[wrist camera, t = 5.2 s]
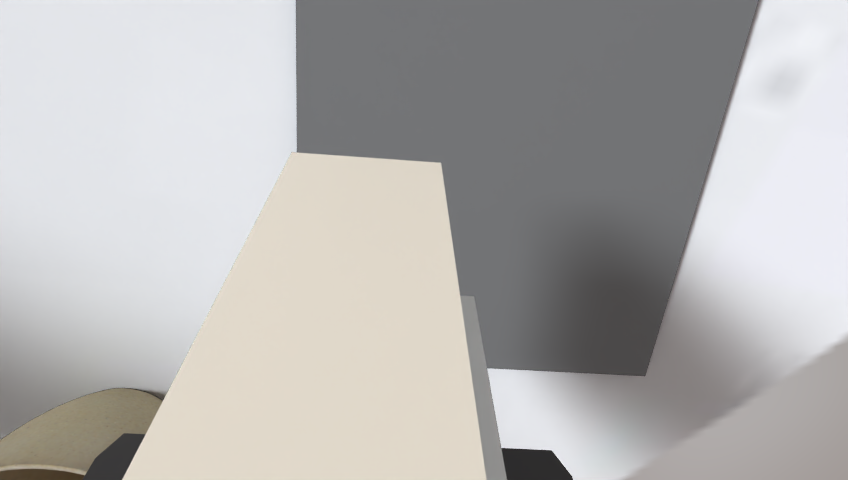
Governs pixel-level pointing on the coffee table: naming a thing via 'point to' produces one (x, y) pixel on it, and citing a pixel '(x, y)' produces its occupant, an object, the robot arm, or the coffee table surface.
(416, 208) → the slab
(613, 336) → the mat
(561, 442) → the coffee table surface
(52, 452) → the flower pot
